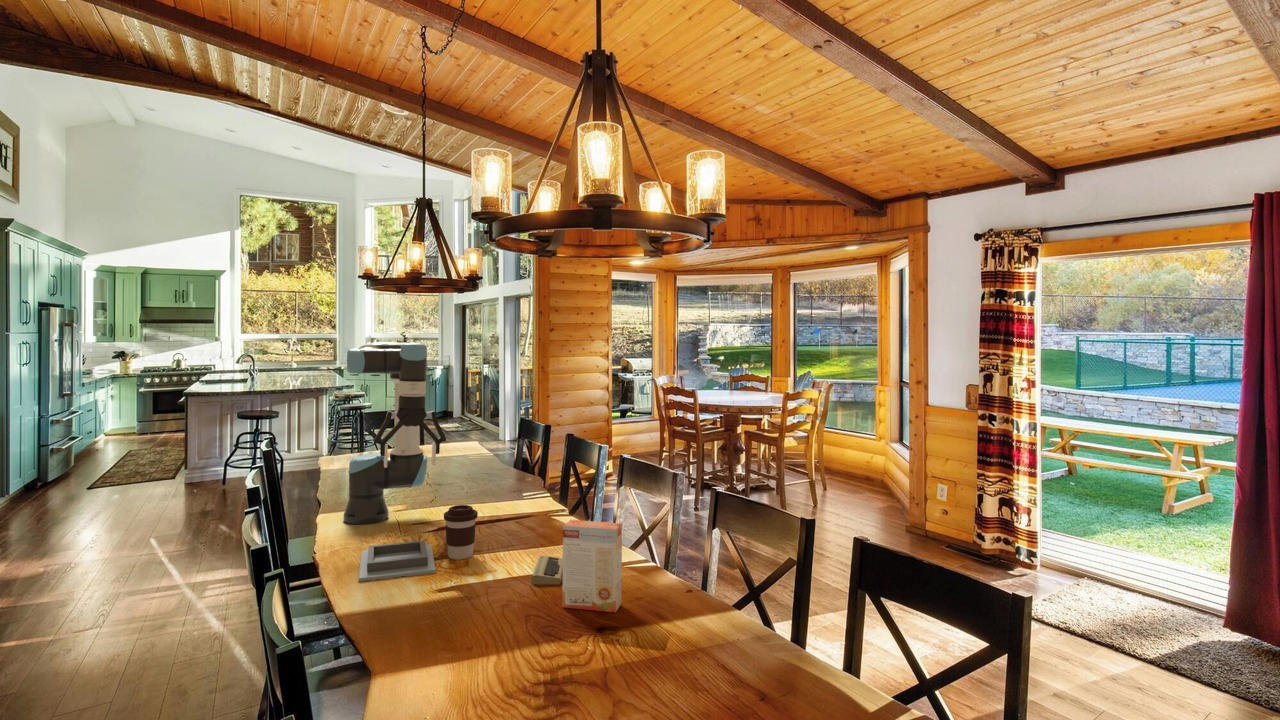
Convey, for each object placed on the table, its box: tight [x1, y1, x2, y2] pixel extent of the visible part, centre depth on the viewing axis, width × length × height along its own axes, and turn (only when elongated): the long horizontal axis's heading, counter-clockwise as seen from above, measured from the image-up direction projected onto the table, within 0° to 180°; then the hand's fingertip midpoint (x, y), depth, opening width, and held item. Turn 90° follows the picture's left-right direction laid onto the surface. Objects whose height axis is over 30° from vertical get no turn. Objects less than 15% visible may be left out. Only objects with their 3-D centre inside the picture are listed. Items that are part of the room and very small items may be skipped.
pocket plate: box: [358, 539, 437, 582], centre depth 186 cm, size 24×20×4 cm
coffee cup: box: [443, 504, 479, 561], centre depth 193 cm, size 10×10×15 cm
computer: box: [531, 555, 563, 585], centre depth 180 cm, size 16×8×3 cm, turn 3°
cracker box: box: [561, 519, 623, 614], centre depth 158 cm, size 14×6×21 cm, turn 77°
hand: (409, 465), depth 189 cm, fingers open, 13 cm apart
